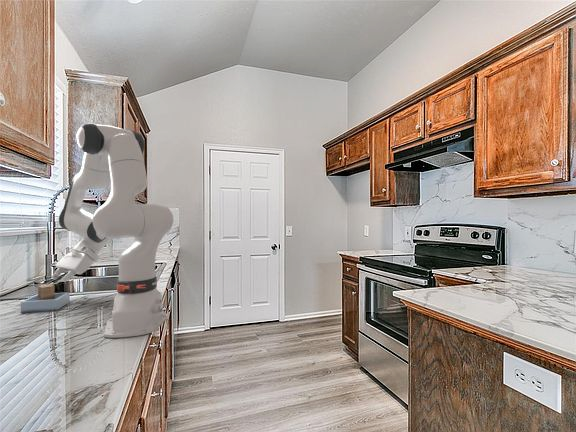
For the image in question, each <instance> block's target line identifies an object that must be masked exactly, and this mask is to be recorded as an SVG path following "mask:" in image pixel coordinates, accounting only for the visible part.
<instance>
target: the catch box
mask: <svg viewBox="0 0 576 432" xmlns="http://www.w3.org/2000/svg"><path fill="white" fill-rule="evenodd" d="M70 298H71V297H70V292H55V299H52V300H38V293H37V294H35V295H33V296H31V297H29V298H27V299H25V300H22V301H20V314H26V313H37V312H38V313H39V312H52V311H58V310H59V309H61V308H63V307H64V306H66V305H67V304H69V303H70V302H71V301H70Z"/></svg>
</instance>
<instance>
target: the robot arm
mask: <svg viewBox="0 0 576 432" xmlns="http://www.w3.org/2000/svg"><path fill="white" fill-rule="evenodd" d="M144 139H145V138H144V137H143V136H142V134H141V133H139V132H138V131H135V130H131V129H130V130H128V129H126V128H125V129H124V128H121V127H117V126H114V125H105V124H96V123H83V124H82V125H80V127H78V129H77V133H76V142H77V146H78V149H80V150H81V152H84V154H83V159H82V165H81V169H80V171H79V172H77V173H76V174H75V175H74V176H73V178H72V180H71V183H70V186H69V188H68V192H67V194H66V199H65V203H64V205H63V208H62V209H61V212H60V213H59V217H58V223H59V226H60V227H61V229H63V230H67V231H69V232H72V233H74V234H76V235H78V236H81V237H83V238H81V240H79V241H78V242H77V243H76V244H74V246H73V247H72V248H71V251H72V252H68V253H67V254H65V255H64V256H63V257H62V258H60V260H58V262H56V264H55V268H57V269H56V270H55V272H54V273H53V275H52V276H51V279H53V280H55V281H56V280H58V278H60V276H61V274H62V273H64V272H67V273H65V275H63V276H62V277H61V278H60V281H62V282H64V283H66V282H68V281H69V280H70V279H71V278H73V277H74V276H75V275H76V274H77V275H83V273H85V272H86V271H87V270H88V269H89V268H90V267H91V266H93V264H95V262H97V261H98V260H100V256H99V253H100V252H101V250H102V249H103V248H105V247H106V246H107V245H108V244H109V243H110V241H111V240H112V239H123V238H125V239H126V238H133V239H134V240H133V242H132V244H131V245H130V246H129V247H128V248H126V249H125V250H124V251H122V252H121V253H120V255H119V257H118V279H117V284H116V292H117V294H115V295H114V301H113V307H112V311H110V315H111V316H112V317H111V318H109V319H107V321H106V324H105V329H104V332H103V337H104V338H110V339H111V338H112V339H113V338H115V339H117V338H130V337H137V336H143V335H147V334H151V333H154V332H156V331H157V330H158V329H159V327H160V326H162V325H163V323H165V322H166V320H167V319H168V318H169V314H168V313H164V309H163V308H164V307H163V296H162V295H163V294H162V292H161V291H160V290H158V289H157V285H158V279H157V276H156V255H157V250H158V246H159V245H160V243H161V242H162V239H163V238H164V236H166V234H167V233H168V232H170V230H171V229H172V227H173V225H174V214H173V212H172V211H171V209H170V208H169V207H167V206H164V205H159V204H155V203H150V204H149V203H143V204H142V203H136V196H138V195H140V194H141V193H143V192H144V191H146V190H147V186H148V178H147V172H146V165H145V160H144V156H143V154H144V152H145V140H144ZM109 185H110V192H109V195H108V198H107V199H106V200H105V202H104V203H103V204H102V205H101V206H99V207H98V208H97V209H96V210H95V212H94V213H93V214H92V213H90V212H88V211H85V210H84V208H83V207H82V205H83V202H84V199H85V195H86V192H87V190H97V189H103V188H106V187H108V186H109Z"/></svg>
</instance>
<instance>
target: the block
mask: <svg viewBox="0 0 576 432" xmlns="http://www.w3.org/2000/svg"><path fill="white" fill-rule="evenodd" d="M55 290H56V289H55V285H54V284H50V283H49V284H44V285H37V294H38V300H52V299H55V293H56V292H55Z"/></svg>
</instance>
